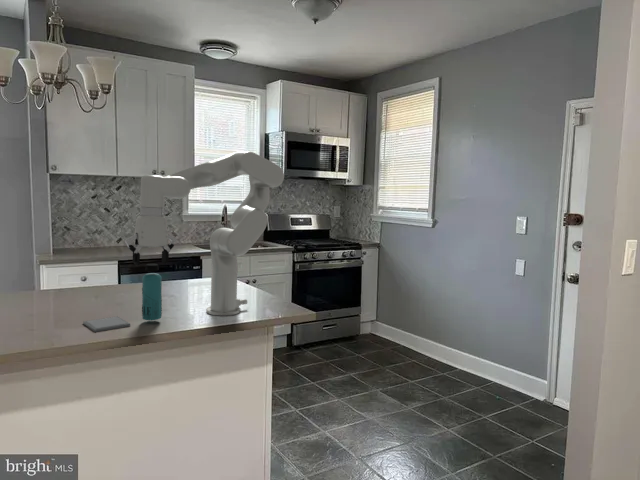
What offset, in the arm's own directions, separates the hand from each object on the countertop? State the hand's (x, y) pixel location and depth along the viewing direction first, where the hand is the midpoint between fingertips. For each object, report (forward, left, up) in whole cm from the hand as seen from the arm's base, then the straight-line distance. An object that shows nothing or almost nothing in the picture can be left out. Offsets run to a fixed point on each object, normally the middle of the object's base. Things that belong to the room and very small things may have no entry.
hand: (150, 263), depth 157 cm
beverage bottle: (0, 0, -20) cm, 20 cm away
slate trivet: (+13, -5, -20) cm, 24 cm away
